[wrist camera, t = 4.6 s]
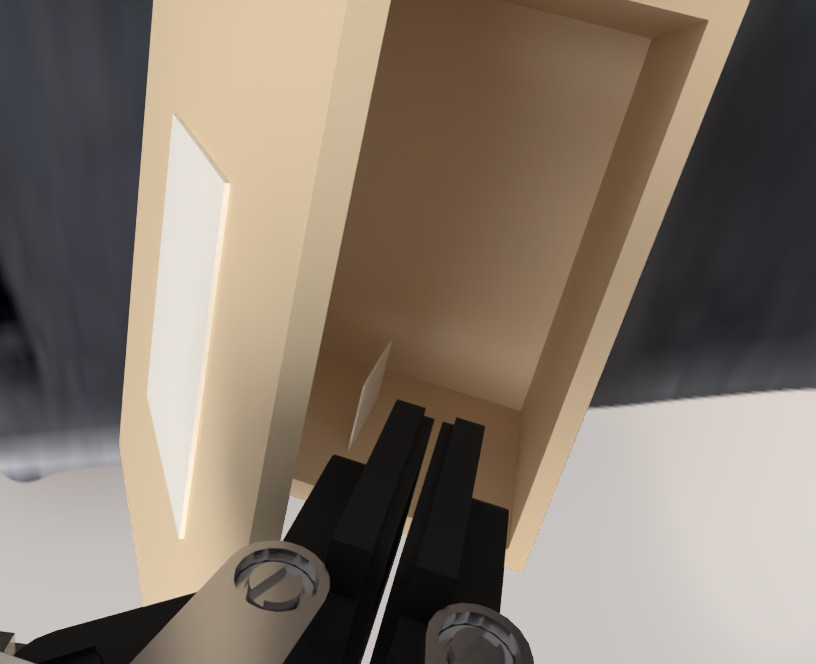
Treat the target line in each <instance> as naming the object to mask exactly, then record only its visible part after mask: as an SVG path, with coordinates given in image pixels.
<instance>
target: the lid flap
mask: <svg viewBox="0 0 816 664" xmlns="http://www.w3.org/2000/svg"><path fill="white" fill-rule="evenodd" d="M390 2H391V0H153V13H152V26H151V39H150V52H149V65H148V78H147V91H146V104H145V117H144V130H143V142H142V155H141V168H140V181H139V194H138V207H137V220H136V233H135V246H134V259H133V272H132V285H131V298H130V311H129V324H128V337H127V350H126V362H125V375H124V388H123V401H122V414H121V427H120V440H119V446H120V453H121V460H122V466H123V473H124V480H125V487H126V494H127V500H128V506H129V513H130V521H131V528H132V534H133V541H134V547H135V555H136V561H137V568H138V575H139V582H140V588H141V595H142V601H143V607H144V606H148V605H152V604H155V603H159V602H163V601H166V600H170V599H173V598H177V597H181V596H184V595H188V594H192V593H195V592H198V591H199V590H200V589H201V588H202V587H203V586H204V584H205V583H206V582H207V581H208V580H209V579H210V578H211V577H212V576H213V575H214V574H215V573H216V572H217V571H218V570H219V569H220V568H221V566H222V565H223V564H224V563H225V562H226V561H227V560H228V559H229V558H230V557H231V556H232V555H233V554H235V553H236V552H237V551H239V550H240V549H241V548H243V547H245V546H248V545H251V544H253V543H256V542H262V541H270V540H275V541H280V539H281V534H282V529H283V524H284V520H285V514H286V510H287V505H288V500H289V495H290V490H291V485H292V480H293V476H294V471H295V466H296V461H297V456H298V451H299V446H300V441H301V437H302V432H303V427H304V422H305V417H306V412H307V407H308V402H309V397H310V393H311V388H312V383H313V378H314V373H315V368H316V363H317V358H318V353H319V349H320V344H321V339H322V334H323V329H324V324H325V319H326V314H327V309H328V305H329V300H330V295H331V290H332V285H333V280H334V275H335V270H336V265H337V261H338V256H339V251H340V246H341V241H342V236H343V231H344V226H345V222H346V217H347V212H348V207H349V202H350V197H351V192H352V187H353V182H354V178H355V173H356V168H357V163H358V158H359V153H360V148H361V143H362V138H363V134H364V129H365V124H366V119H367V114H368V109H369V104H370V99H371V94H372V90H373V85H374V80H375V75H376V70H377V65H378V60H379V55H380V51H381V46H382V41H383V36H384V31H385V26H386V21H387V16H388V11H389V7H390Z"/></svg>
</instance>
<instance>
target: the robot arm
mask: <svg viewBox="0 0 816 664" xmlns="http://www.w3.org/2000/svg"><path fill="white" fill-rule="evenodd" d="M425 410H426V408H425V407H421V406H418V405H415V404H412V403H408V402H405V401H402V400H398V399H397V400H396V402H395V404H394V406H393V408H392V411H391V413H390V415H389V417H388V419H387V421H386V423H385V425H384V427H383V430H382V432H381V434H380V436H379V438H378V440H377V442H376V444H375V446H374V449H373V451H372V453H371V455H370V457H369V459H368V461H367V463H366V464H364V463H361V462H357V461H354V460H351V459H348V458H345V457H342V456H338V455H335V454H334V455H332V457H331V458H330V460H329V461H328V463H327V465H326V467H325V468H324V470H323V472H322V474H321V475H320V477H319V479H318V481H317V482H316V484H315V486H314V488H313V489H312V491H311V493H310V495H309V496H308V498H307V500H306V502H305V503H304V505H303V507H302V509H301V510H300V512H299V514H298V516H297V517H296V520H295V521H294V523H293V525H292V526H291V528H290V530H289V531H288V533H287V535H286V537H285V538H284V540H283V541H275V540H270V541H262V542H256V543H253V544H251V545H248V546H245V547H243V548H241V549H240V550H239V551H237V552H236V553H235V554H233V555H232V556H231V557H230V558H229V559H228V560H227V561H226V562H225V563H224V564H223V565H222V566H221V568H220V569H219V570H218V571H217V572H216V573H215V574H214V575H213V576H212V577H211V578H210V579H209V580H208V581H207V582H206V583H205V584H204V586H203V587H202V588H201V589H200V590H199V591H198V592H195V593H192V594H188V595H184V596H181V597H177V598H173V599H170V600H166V601H163V602H159V603H155V604H152V605H148V606H144V607H141V608H137V609H134V610H130V611H127V612H123V613H119V614H116V615H112V616H108V617H105V618H101V619H97V620H94V621H90V622H86V623H83V624H79V625H76V626H72V627H68V628H64V629H61V630H57V631H55V632H52V633H49V634H47V635H44V636H42V637H39V638H36V639H35V640H33V641H32V642H30V643H29V644H22V643H15V633H10V632H2V631H0V664H361V660H362V658H363V655H364V652H365V649H366V646H367V643H368V640H369V637H370V634H371V631H372V627H373V624H374V621H375V618H376V615H377V612H378V609H379V605H380V603H381V599H382V596H383V593H384V590H385V587H386V584H387V581H388V578H389V574H390V572H391V569H392V565H393V562H394V559H395V556H396V553H397V550H398V546H399V543H400V540H401V536H402V533H403V529H404V526H405V522H406V519H407V515H408V512H409V508H410V505H411V501H412V498H413V494H414V491H415V487H416V484H417V480H418V477H419V473H420V470H421V466H422V463H423V459H424V456H425V452H426V449H427V445H428V442H429V438H430V435H431V431H432V428H433V424H434V420H435V419H434V418H430V417H427V416H424V414H425ZM484 431H485V426H484V425H481V424H477V423H474V422H471V421H468V420H464V419H461V418H458V417H456V420H455V423H454V425H453V424H450V423H447V422H444V421H443V422H442V425H441V428H440V431H439V435H438V438H437V441H436V444H435V448H434V451H433V454H432V457H431V460H430V464H429V467H428V470H427V473H426V477H425V480H424V483H423V486H422V489H421V493H420V496H419V499H418V502H417V506H416V509H415V512H414V515H413V519H412V522H411V525H410V528H409V531H408V535H407V538H406V541H405V545H404V548H403V551H402V554H401V557H400V561H399V564H398V568H397V571H396V575H395V578H394V581H393V585H392V588H391V592H390V595H389V598H388V602H387V606H386V609H385V613H384V616H383V619H382V623H381V626H380V630H379V633H378V637H377V640H376V644H375V647H374V650H373V654H372V658H371V661H370V664H534V661H533V656H532V653H531V650H530V647H529V643H528V642H527V640H526V639H525V637H524V636H523V634H522V633H521V631H520V630H519V629H518V628H517V627H516V626H515V625H514V624H513V623H512V622H511V621H510V620H509V619H508V618H506V617H504V616H503V615H501V614H500V605H501V595H502V585H503V573H504V563H505V553H506V542H507V532H508V521H509V510H508V509H506V508H503V507H500V506H497V505H494V504H491V503H487V502H484V501H481V500H478V499H475V498H472V496H473V490H474V485H475V480H476V474H477V469H478V463H479V458H480V453H481V447H482V442H483V436H484Z"/></svg>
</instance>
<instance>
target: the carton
mask: <svg viewBox="0 0 816 664" xmlns="http://www.w3.org/2000/svg"><path fill="white" fill-rule="evenodd" d="M749 1H750V0H391V2H390V7H389V11H388V16H387V21H386V26H385V31H384V36H383V41H382V46H381V51H380V55H379V60H378V65H377V70H376V75H375V80H374V85H373V90H372V94H371V99H370V104H369V109H368V114H367V119H366V124H365V129H364V134H363V138H362V143H361V148H360V153H359V158H358V163H357V168H356V173H355V178H354V182H353V187H352V192H351V197H350V202H349V207H348V212H347V217H346V222H345V226H344V231H343V236H342V241H341V246H340V251H339V256H338V261H337V265H336V270H335V275H334V280H333V285H332V290H331V295H330V300H329V305H328V309H327V314H326V319H325V324H324V329H323V334H322V339H321V344H320V349H319V353H318V358H317V363H316V368H315V373H314V378H313V383H312V388H311V393H310V397H309V402H308V407H307V412H306V417H305V422H304V427H303V432H302V437H301V441H300V446H299V451H298V456H297V461H296V466H295V471H294V476H293V480H292V485H291V490H290V496H293V497H297V498H299V499H302V500H305V501H306V500H307V498H308V496H309V495H310V493H311V491H312V489H313V488H314V486H315V484H316V482H317V481H318V479H319V477H320V475H321V474H322V472H323V470H324V468H325V467H326V465H327V463H328V461H329V460H330V458H331V457H332V455H334V454H335V455H338V456H342V457H345V458H348V459H351V460H354V461H357V462H361V463H364V464H366V463H367V461H368V459H369V457H370V455H371V453H372V451H373V449H374V446H375V444H376V442H377V440H378V438H379V436H380V434H381V432H382V430H383V427H384V425H385V423H386V421H387V419H388V417H389V415H390V413H391V411H392V408H393V406H394V404H395V402H396V400H397V399H398V400H402V401H405V402H408V403H412V404H415V405H418V406H421V407H425V408H426V410H425V414H424V416H427V417H430V418H434V419H435V420H434V424H433V428H432V431H431V435H430V438H429V442H428V445H427V449H426V452H425V456H424V459H423V463H422V466H421V470H420V473H419V477H418V480H417V484H416V487H415V491H414V494H413V498H412V501H411V505H410V508H409V512H408V515H407V519H406V522H405V526H404V529H403V533H405V534H408V531H409V528H410V525H411V522H412V519H413V515H414V512H415V509H416V506H417V502H418V499H419V496H420V493H421V489H422V486H423V483H424V480H425V477H426V473H427V470H428V467H429V464H430V460H431V457H432V454H433V451H434V448H435V444H436V441H437V438H438V435H439V431H440V428H441V425H442V422H443V421H444V422H447V423H450V424H453V425H454V423H455V420H456V417H458V418H461V419H464V420H468V421H471V422H474V423H477V424H481V425H484V426H485V431H484V436H483V442H482V447H481V453H480V458H479V463H478V469H477V474H476V480H475V485H474V490H473V496H472V498H475V499H478V500H481V501H484V502H487V503H491V504H494V505H497V506H500V507H503V508H506V509H508V510H509V521H508V532H507V542H506V553H505V563H504V567H507V568H510V569H513V570H516V571H519V572H523V570H524V567H525V565H526V562H527V560H528V557H529V555H530V552H531V550H532V547H533V545H534V542H535V540H536V537H537V535H538V532H539V530H540V527H541V525H542V522H543V520H544V517H545V515H546V512H547V509H548V507H549V504H550V502H551V499H552V497H553V494H554V492H555V489H556V487H557V484H558V482H559V479H560V477H561V474H562V472H563V469H564V467H565V464H566V462H567V459H568V457H569V454H570V452H571V449H572V447H573V444H574V442H575V439H576V436H577V434H578V432H579V429H580V426H581V424H582V421H583V419H584V416H585V414H586V411H587V409H588V406H589V404H590V401H591V399H592V396H593V394H594V391H595V389H596V386H597V384H598V381H599V379H600V376H601V374H602V371H603V369H604V366H605V364H606V361H607V359H608V356H609V354H610V351H611V349H612V346H613V344H614V341H615V338H616V336H617V333H618V331H619V328H620V326H621V323H622V321H623V318H624V316H625V313H626V311H627V308H628V306H629V303H630V301H631V298H632V296H633V293H634V291H635V288H636V286H637V283H638V281H639V278H640V276H641V273H642V271H643V268H644V266H645V263H646V260H647V258H648V255H649V253H650V250H651V248H652V245H653V243H654V240H655V238H656V235H657V233H658V230H659V228H660V225H661V223H662V220H663V218H664V215H665V213H666V210H667V208H668V205H669V203H670V200H671V198H672V195H673V193H674V190H675V188H676V185H677V182H678V180H679V177H680V175H681V172H682V170H683V167H684V165H685V162H686V160H687V157H688V155H689V152H690V150H691V147H692V145H693V142H694V140H695V137H696V135H697V132H698V130H699V127H700V125H701V122H702V120H703V117H704V115H705V112H706V110H707V107H708V104H709V102H710V99H711V97H712V94H713V92H714V89H715V87H716V84H717V82H718V79H719V77H720V74H721V72H722V69H723V67H724V64H725V62H726V59H727V57H728V54H729V52H730V49H731V47H732V44H733V42H734V39H735V37H736V34H737V32H738V29H739V26H740V24H741V21H742V19H743V16H744V14H745V11H746V9H747V6H748V4H749Z"/></svg>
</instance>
